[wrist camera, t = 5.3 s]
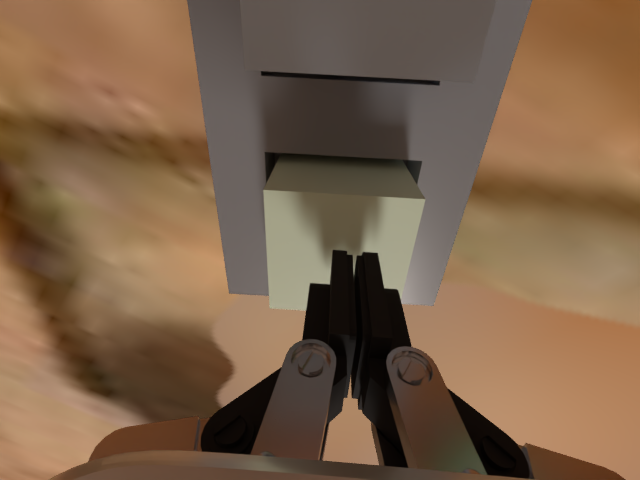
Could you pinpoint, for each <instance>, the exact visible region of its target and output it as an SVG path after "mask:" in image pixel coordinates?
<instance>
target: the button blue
mask: <svg viewBox="0 0 640 480" xmlns="http://www.w3.org/2000/svg"><path fill="white" fill-rule="evenodd" d="M495 4H496V0H240V9H241V23H242V37H243V51H244V65H245V70H252V71H270V72H288V73H306V74H325V75H343V76H361V77H379V78H398V79H416V80H434V81H452V82H471V83H474V80H475V77H476V73H477V69H478V66H479V62H480V59H481V55H482V51H483V48H484V44H485V40H486V37H487V33H488V29H489V26H490V22H491V19H492V15H493V11H494V8H495Z"/></svg>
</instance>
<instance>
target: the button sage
mask: <svg viewBox="0 0 640 480" xmlns="http://www.w3.org/2000/svg"><path fill="white" fill-rule="evenodd" d="M263 194H264V212H265V231H266V249H267V268H268V286H269V305H270V308H273V309H289V310H305V311H306V308H307V301H308V293H309V286H310V283H319V284H330V276H331V263H332V251H333V250H345V251H347V255H353V271H354V272H355V264H356V257H357V255H361V256H362V253H363V252H373V253H378V256H379V262H380V267H381V273H382V279H383V284H384V288H388V289H397V290H398V292H399V295H400V299H401V297H402V293H403V289H404V285H405V281H406V277H407V273H408V269H409V265H410V261H411V257H412V253H413V248H414V244H415V240H416V236H417V232H418V228H419V224H420V220H421V216H422V212H423V208H424V204H425V198H424V196H423V194H422V192H421V191H420V189H419V187H418V186H417V184H416V182H415V181H414V179H413V177H412V175H411V174H410V172H409V170H408V169H407V167H406V165H405V164H404V162H403V160H398V159H380V158H363V157H345V156H328V155H310V154H292V153H281V155H280V157H279V159H278V161H277V163H276V165H275V167H274V169H273V171H272V173H271V175H270V177H269V179H268V181H267V183H266V185H265V187H264V189H263Z"/></svg>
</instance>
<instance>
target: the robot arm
mask: <svg viewBox="0 0 640 480" xmlns="http://www.w3.org/2000/svg"><path fill="white" fill-rule="evenodd" d="M350 377H351V388H352V398H356V399H358V409H359V410H362V412H363V414H364V415H365V416H366V417H367V418H368V419H369V420H370V421H371V429H372V434H373V439H374V443H375V448H376V452H377V456H378V461H379V465H367V464H355V463H354V464H353V463H342V462H332V461H323V457H324V452H325V446H326V441H327V435H328V429H329V423H330V421H331V420H333V419H334V418H335V417H336V416H337V415H338V414H339V413H340V412H341V411H342V406H343V399H344V398H347V395H348V389H349V382H350ZM49 480H625V479H624V478H622V477H621V476H620V475H619V474H617V473H615V472H614V471H611V470H609V469H607V468H605V467H602V466H598V465H595V464H592V463H589V462H585V461H582V460H579V459H576V458H573V457H569V456H566V455H563V454H560V453H556V452H553V451H550V450H547V449H544V448H540V447H537V446H533V445H531V444H527V443H526V444H525V445H524V446H521V445H518V444H517V443H515V441H513V440H512V439H511V438H510V437H509V436H508V435H507V434H506V433H504V432H503V431H502V430H501V429H499V428H498V427H497V426H495V425H494V424H493V423H492V422H490V421H489V420H488V419H486V418H485V417H484V416H483V415H481V414H480V413H479V412H477V411H476V410H475V409H474V408H472V407H471V406H470V405H468V404H467V403H466V402H465V401H463V400H462V399H461V398H460V397H458V396H457V395H455V394H454V393H453V392H452V391H450V390H449V389H448V388H447V387H446V385H445V383H444V381H443V379H442V376H441V374H440V372H439V370H438V368H437V366H436V364H435V363H434V361H433V360H432V359H431V358H430V357H429V356H428V355H427V354H426V353H424V352H423V351H421V350H419V349H416V348H413V347H411V342H410V338H409V334H408V329H407V325H406V321H405V317H404V312H403V308H402V304H401V299H400V295H399V292H398V290H397V289H388V288H384V284H383V279H382V273H381V267H380V262H379V256H378V253H373V252H363V253H362V256H361V255H357V257H356V264H355V272H354V271H353V255H347V251H345V250H333V251H332V263H331V276H330V284H319V283H310V286H309V293H308V301H307V308H306V316H305V324H304V331H303V339H302V341H299V342H297V343H295V344H294V345H293V346H292V347H291V348H290V349H289V351H288V352H287V354H286V357H285V360H284V362H283V365H282V367H281V368H280V369H278V370H277V371H275V372H274V373H273V374H271V375H270V376H268V377H267V378H265V379H264V380H262V381H261V382H259V383H258V384H256V385H255V386H254V387H252V388H251V389H249V390H248V391H246V392H245V393H243V394H242V395H240V396H239V397H238V398H236V399H235V400H233V401H232V402H230V403H229V404H227V405H226V406H224V407H223V408H222V409H220V410H219V411H217V412H216V413H215V414H214V415H213V416H212V417H211V418H204V419H199V416H194V417H188V418H181V419H175V420H168V421H162V422H155V423H149V424H142V425H136V426H129V427H125V428H121V429H118V430H115V431H114V432H112V433H111V434H109V435H108V436H106V437H105V438H104V439H103V440H102V441H101V442H100V443H99V444H98V445H97V446H96V447H95V449H94V451H93V453H92V454H91V456H90V458H89V461H88V462H87V463H84V464H82V465H79V466H76V467H73V468H71V469H69V470H67V471H65V472H63V473H60V474H58V475H56V476H54V477H53V478H51V479H49Z"/></svg>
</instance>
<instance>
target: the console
mask: <svg viewBox="0 0 640 480" xmlns="http://www.w3.org/2000/svg"><path fill="white" fill-rule="evenodd" d="M187 2H188V9H189V16H190V23H191V30H192V37H193V44H194V51H195V58H196V65H197V72H198V79H199V86H200V93H201V100H202V107H203V114H204V121H205V128H206V135H207V142H208V149H209V156H210V163H211V170H212V177H213V184H214V191H215V198H216V205H217V212H218V219H219V226H220V233H221V240H222V247H223V254H224V261H225V268H226V275H227V282H228V289H229V293H231V294H247V295H264V296H269V286H268V268H267V249H266V231H265V212H264V194H263V189H264V187H265V185H266V183H267V181H268V179H269V177H270V175H271V173H272V171H273V169H274V167H275V165H276V163H277V161H278V159H279V157H280V155H281V153H292V154H310V155H328V156H345V157H363V158H380V159H398V160H403V162H404V164H405V165H406V167H407V169H408V170H409V172H410V174H411V175H412V177H413V179H414V181H415V182H416V184H417V186H418V187H419V189H420V191H421V192H422V194H423V196H424V198H425V204H424V208H423V212H422V216H421V220H420V224H419V228H418V232H417V236H416V240H415V244H414V248H413V253H412V257H411V261H410V265H409V269H408V273H407V277H406V281H405V285H404V289H403V293H402V297H401V304H412V305H428V306H433V305H434V302H435V299H436V296H437V293H438V290H439V287H440V284H441V281H442V278H443V275H444V272H445V269H446V265H447V262H448V259H449V256H450V253H451V250H452V247H453V244H454V241H455V238H456V234H457V231H458V228H459V225H460V222H461V219H462V216H463V213H464V210H465V207H466V204H467V200H468V197H469V194H470V191H471V188H472V185H473V182H474V179H475V176H476V173H477V169H478V166H479V163H480V160H481V157H482V154H483V151H484V148H485V145H486V142H487V139H488V135H489V132H490V129H491V126H492V123H493V120H494V117H495V114H496V111H497V108H498V105H499V101H500V98H501V95H502V92H503V89H504V86H505V83H506V80H507V77H508V74H509V70H510V67H511V64H512V61H513V58H514V55H515V52H516V49H517V46H518V43H519V40H520V36H521V33H522V30H523V27H524V24H525V21H526V18H527V15H528V12H529V9H530V5H531V2H532V0H496V4H495V8H494V11H493V15H492V19H491V22H490V26H489V29H488V33H487V37H486V40H485V44H484V48H483V51H482V55H481V59H480V62H479V66H478V69H477V73H476V77H475V80H474V83H471V82H452V81H434V80H416V79H398V78H379V77H361V76H343V75H325V74H306V73H288V72H270V71H252V70H245V65H244V51H243V37H242V23H241V9H240V0H187Z"/></svg>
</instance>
